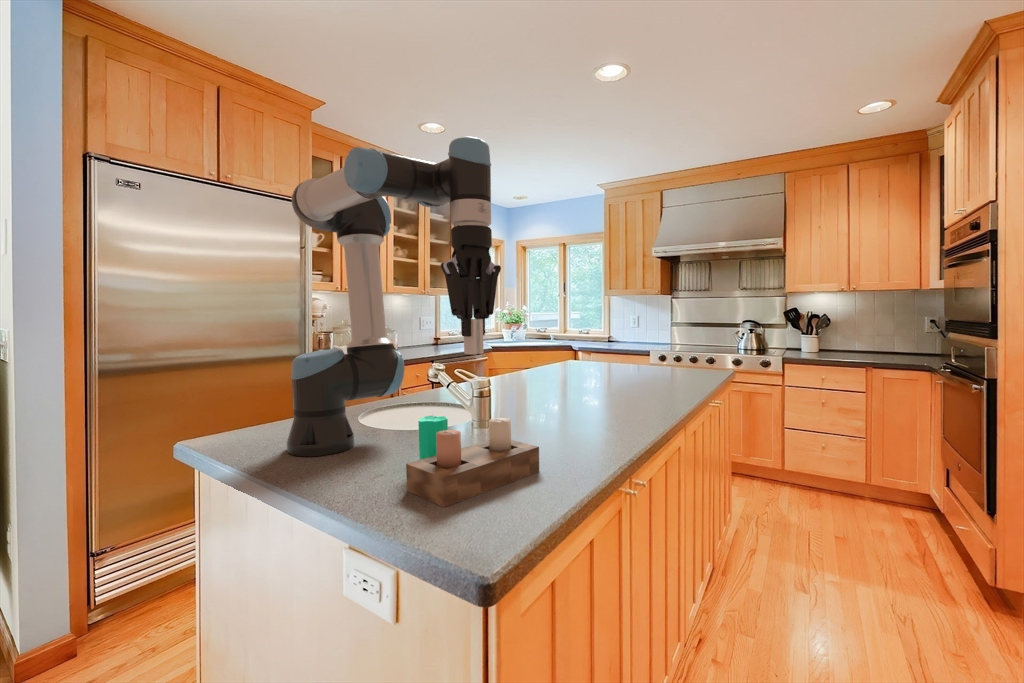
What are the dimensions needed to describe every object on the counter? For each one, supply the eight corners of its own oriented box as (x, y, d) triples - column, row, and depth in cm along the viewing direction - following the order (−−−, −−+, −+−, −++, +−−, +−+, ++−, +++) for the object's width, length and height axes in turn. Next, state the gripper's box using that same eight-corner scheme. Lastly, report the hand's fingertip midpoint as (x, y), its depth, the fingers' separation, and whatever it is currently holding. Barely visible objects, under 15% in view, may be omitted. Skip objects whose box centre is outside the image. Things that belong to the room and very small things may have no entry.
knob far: (484, 451, 97) (484, 420, 97) (500, 446, 100) (499, 416, 100) (500, 455, 94) (499, 423, 94) (515, 450, 97) (515, 420, 97)
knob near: (432, 467, 88) (431, 433, 87) (451, 461, 91) (450, 428, 91) (447, 472, 85) (446, 437, 84) (466, 466, 88) (465, 432, 87)
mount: (407, 490, 88) (406, 463, 88) (501, 459, 105) (500, 437, 105) (444, 507, 80) (443, 477, 80) (539, 471, 98) (539, 446, 97)
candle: (443, 473, 97) (441, 414, 96) (415, 472, 98) (413, 413, 97) (452, 464, 103) (451, 408, 102) (426, 463, 104) (424, 407, 103)
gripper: (454, 219, 82) (457, 357, 84) (512, 228, 92) (514, 351, 94) (428, 225, 87) (431, 355, 89) (485, 233, 97) (487, 350, 99)
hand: (473, 353), depth 91 cm, fingers closed
